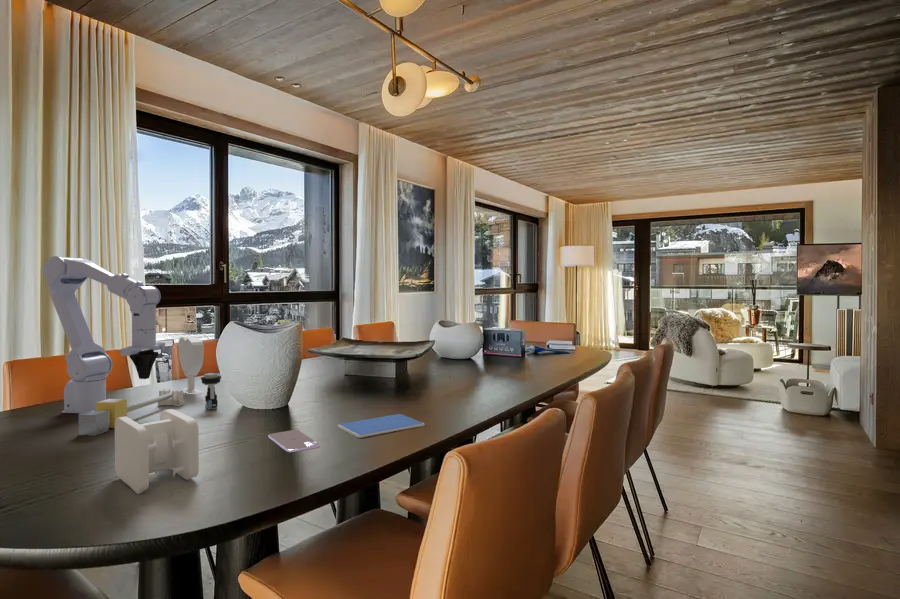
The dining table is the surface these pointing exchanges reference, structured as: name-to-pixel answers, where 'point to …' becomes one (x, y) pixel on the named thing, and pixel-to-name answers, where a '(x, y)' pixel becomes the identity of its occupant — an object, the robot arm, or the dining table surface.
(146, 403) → the rod
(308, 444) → the mobile phone
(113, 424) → the matte pale yellow cube
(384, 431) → the tablet computer
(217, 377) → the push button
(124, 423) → the cable organizer
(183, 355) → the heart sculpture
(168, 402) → the cable comb
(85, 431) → the connector
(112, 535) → the dining table surface
